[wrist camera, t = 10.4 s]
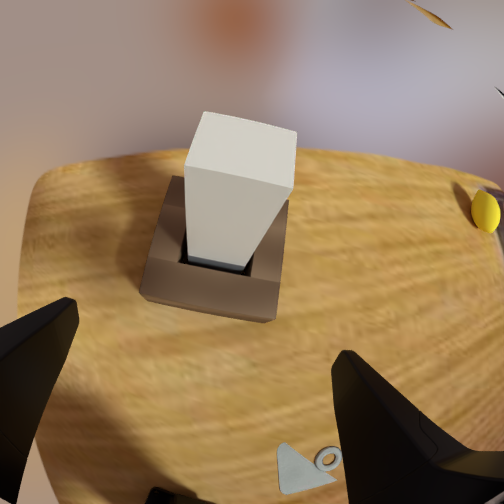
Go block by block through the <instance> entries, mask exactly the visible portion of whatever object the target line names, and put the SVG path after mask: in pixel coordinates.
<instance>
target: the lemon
mask: <svg viewBox="0 0 504 504" xmlns="http://www.w3.org/2000/svg"><path fill="white" fill-rule="evenodd" d="M471 214H472V218H473V221H474V222H475V224H476V225H477V227H478V228H479V229H481V230H483V231H485V232H488V233H492V232H493V231H494V230H495V229H496V227H497V226H498V224H499V221H500V208H499V206H498V203H497V201H496V199H495V198H494V197H493V196H492V195H490V194H489V193H487V192H484V191H482V190H478V191H477V193H476V195H475V197H474V199H473V201H472V206H471Z"/></svg>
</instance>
